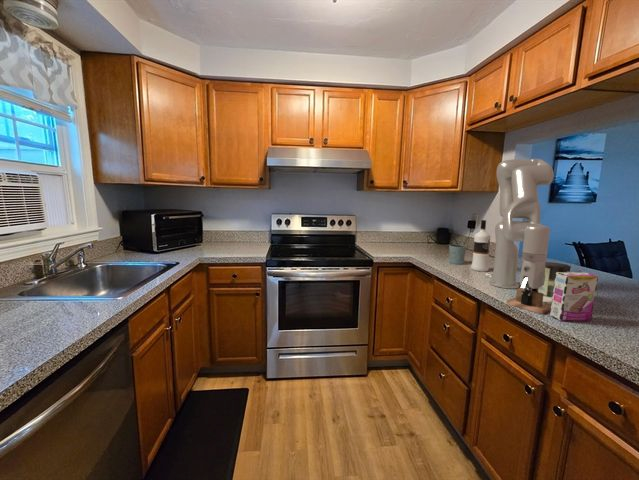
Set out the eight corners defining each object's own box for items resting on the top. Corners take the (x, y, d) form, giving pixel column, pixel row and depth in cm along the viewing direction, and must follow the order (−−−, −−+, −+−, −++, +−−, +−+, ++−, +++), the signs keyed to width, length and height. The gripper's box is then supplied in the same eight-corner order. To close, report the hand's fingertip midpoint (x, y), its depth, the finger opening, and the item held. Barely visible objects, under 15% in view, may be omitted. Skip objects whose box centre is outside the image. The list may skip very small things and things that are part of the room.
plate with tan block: (506, 303, 114) (508, 288, 113) (515, 300, 117) (517, 285, 116) (542, 314, 103) (544, 297, 103) (550, 310, 107) (552, 293, 106)
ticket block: (519, 299, 119) (519, 295, 119) (528, 296, 123) (528, 292, 123) (554, 308, 109) (554, 304, 109) (562, 304, 113) (563, 300, 113)
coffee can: (571, 297, 122) (575, 265, 120) (560, 301, 117) (564, 268, 115) (543, 290, 131) (546, 261, 129) (531, 294, 126) (535, 263, 124)
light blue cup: (461, 262, 191) (462, 244, 190) (467, 265, 181) (469, 247, 180) (445, 261, 192) (447, 244, 190) (451, 265, 182) (452, 246, 181)
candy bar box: (561, 322, 97) (567, 275, 95) (549, 316, 102) (554, 271, 100) (592, 321, 97) (599, 275, 95) (579, 315, 102) (585, 271, 100)
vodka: (474, 267, 175) (478, 219, 171) (491, 270, 168) (495, 220, 164) (468, 269, 170) (471, 219, 165) (484, 272, 162) (489, 220, 158)
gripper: (535, 261, 100) (530, 311, 103) (555, 257, 109) (549, 302, 111) (512, 258, 106) (507, 304, 109) (532, 253, 115) (527, 296, 118)
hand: (528, 303), depth 110 cm, fingers open, 4 cm apart
